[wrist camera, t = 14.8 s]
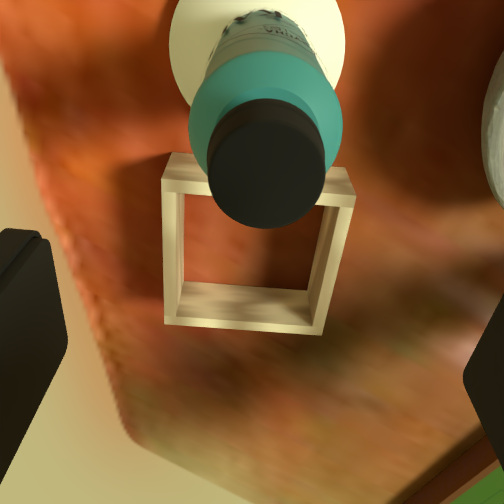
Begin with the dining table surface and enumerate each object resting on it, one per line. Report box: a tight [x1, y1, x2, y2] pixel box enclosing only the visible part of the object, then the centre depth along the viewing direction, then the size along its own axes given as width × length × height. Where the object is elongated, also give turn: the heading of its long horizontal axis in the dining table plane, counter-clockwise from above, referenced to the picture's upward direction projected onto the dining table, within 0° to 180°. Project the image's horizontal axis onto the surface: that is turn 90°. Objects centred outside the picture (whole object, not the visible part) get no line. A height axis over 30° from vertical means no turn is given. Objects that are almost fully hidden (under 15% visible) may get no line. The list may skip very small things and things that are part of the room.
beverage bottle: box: [188, 8, 343, 229], centre depth 23 cm, size 6×7×20 cm
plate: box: [169, 0, 345, 107], centre depth 31 cm, size 12×12×1 cm
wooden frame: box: [161, 152, 356, 336], centre depth 38 cm, size 14×14×5 cm
